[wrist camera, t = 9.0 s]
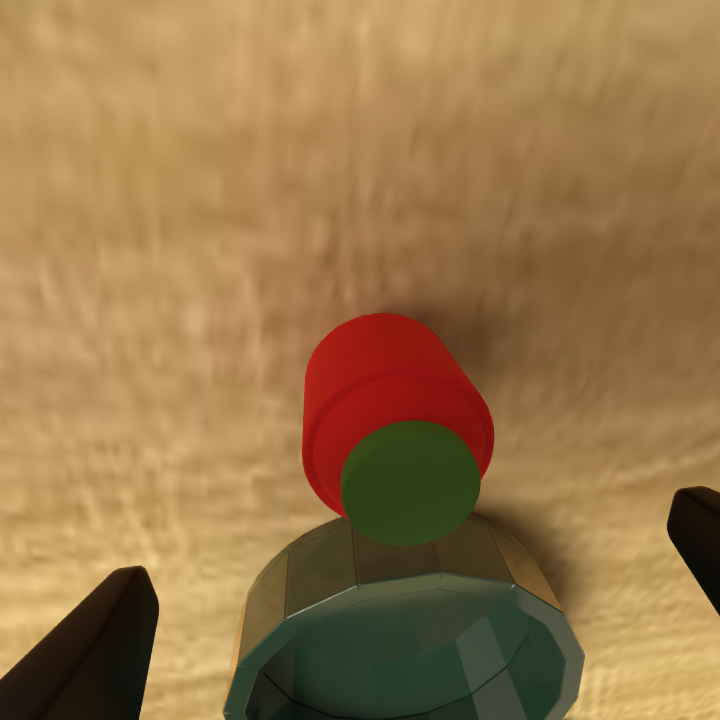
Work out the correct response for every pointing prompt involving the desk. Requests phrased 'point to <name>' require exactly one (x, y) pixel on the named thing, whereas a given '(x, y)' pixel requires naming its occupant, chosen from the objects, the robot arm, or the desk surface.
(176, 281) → the desk surface
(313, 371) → the strawberry
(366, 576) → the ring
